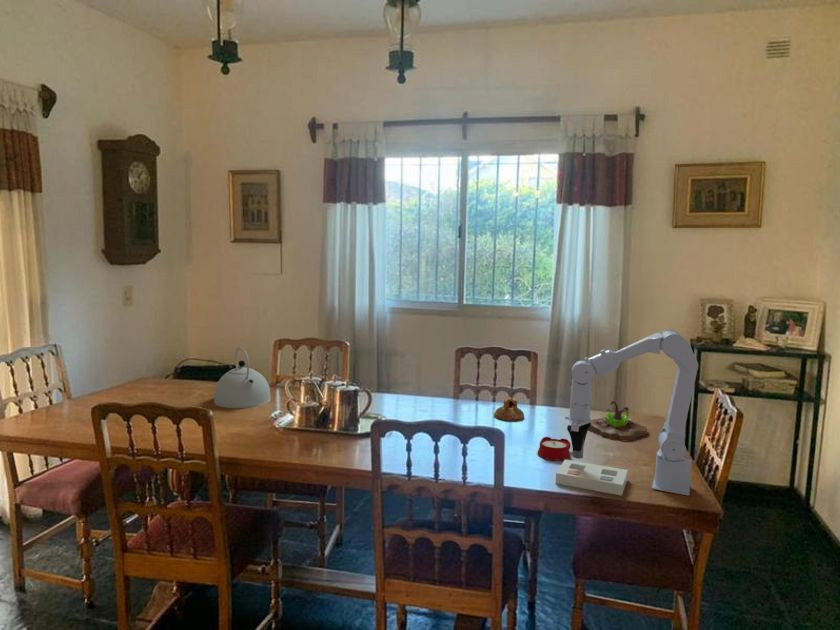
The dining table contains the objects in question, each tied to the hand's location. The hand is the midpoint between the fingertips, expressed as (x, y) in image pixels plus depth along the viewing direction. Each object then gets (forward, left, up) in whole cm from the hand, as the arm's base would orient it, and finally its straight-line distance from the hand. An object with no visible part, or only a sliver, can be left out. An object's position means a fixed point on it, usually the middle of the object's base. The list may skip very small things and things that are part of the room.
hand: (578, 448), depth 174 cm
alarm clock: (+10, -17, -9) cm, 22 cm away
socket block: (-5, +1, -8) cm, 10 cm away
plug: (0, 0, -2) cm, 2 cm away
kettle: (+140, -17, -9) cm, 141 cm away
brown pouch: (+35, -49, -9) cm, 61 cm away
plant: (-4, -51, -9) cm, 52 cm away
